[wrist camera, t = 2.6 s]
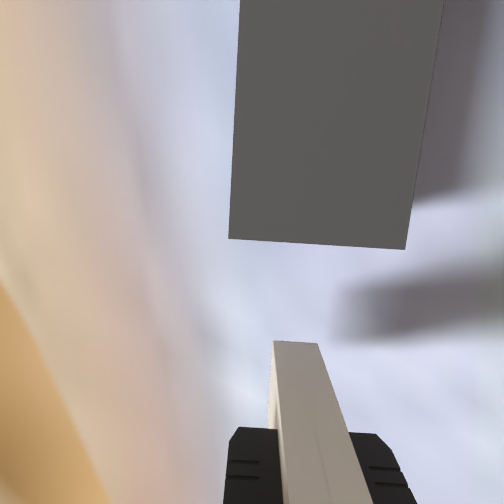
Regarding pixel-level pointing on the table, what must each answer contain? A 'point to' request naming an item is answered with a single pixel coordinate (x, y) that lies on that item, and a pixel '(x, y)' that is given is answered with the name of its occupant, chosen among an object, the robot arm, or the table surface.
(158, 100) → the table surface
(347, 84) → the two-tone upright block
